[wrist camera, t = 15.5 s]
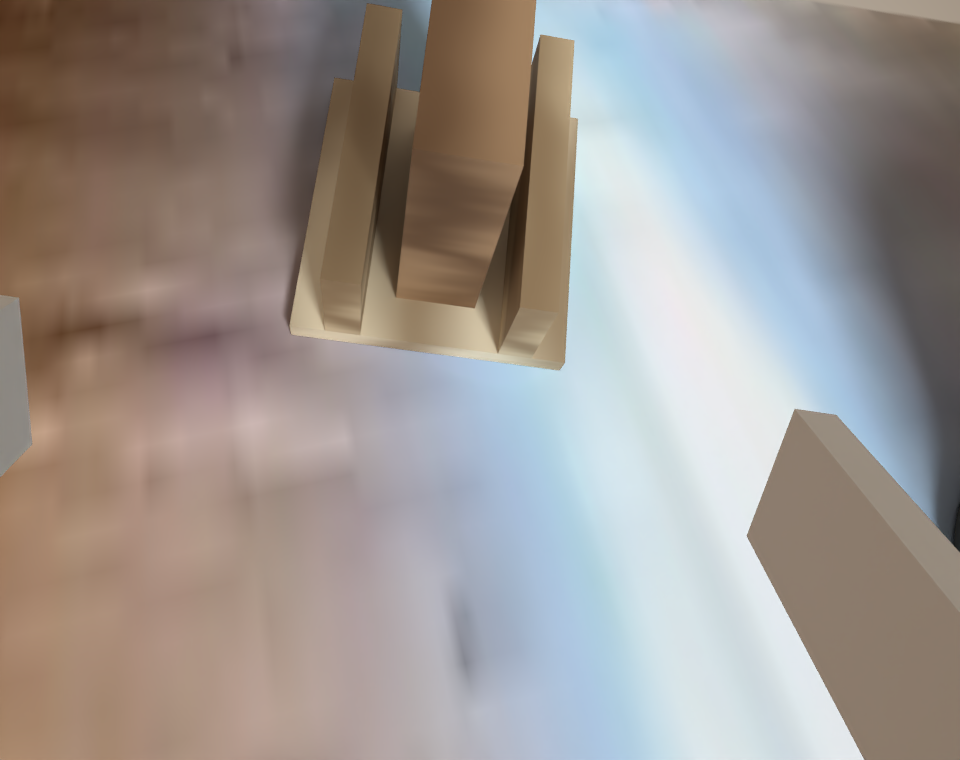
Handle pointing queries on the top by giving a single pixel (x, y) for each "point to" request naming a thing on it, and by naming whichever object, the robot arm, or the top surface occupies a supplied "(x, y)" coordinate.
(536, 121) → the rack
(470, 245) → the tile
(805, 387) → the top surface
